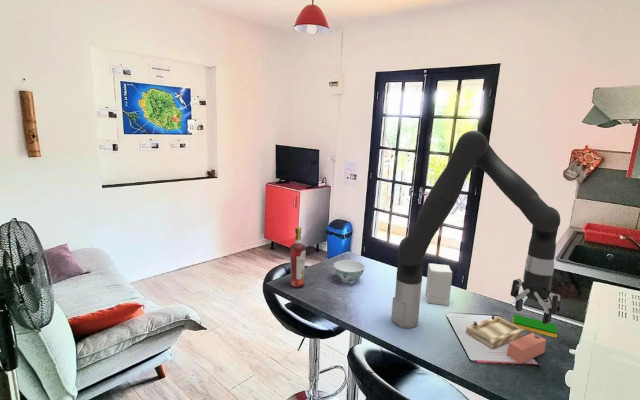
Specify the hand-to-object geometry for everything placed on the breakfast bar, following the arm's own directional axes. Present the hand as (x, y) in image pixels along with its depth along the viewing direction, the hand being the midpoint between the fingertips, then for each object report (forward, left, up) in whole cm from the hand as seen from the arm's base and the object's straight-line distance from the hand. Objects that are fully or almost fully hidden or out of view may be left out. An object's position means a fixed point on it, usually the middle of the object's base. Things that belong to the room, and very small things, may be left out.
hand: (531, 316), depth 110 cm
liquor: (-48, +79, -14) cm, 93 cm away
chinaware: (-23, +74, -14) cm, 78 cm away
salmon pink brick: (0, 0, -14) cm, 14 cm away
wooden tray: (+1, +12, -13) cm, 18 cm away
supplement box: (+2, +41, -14) cm, 43 cm away
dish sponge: (+19, +9, -14) cm, 25 cm away
